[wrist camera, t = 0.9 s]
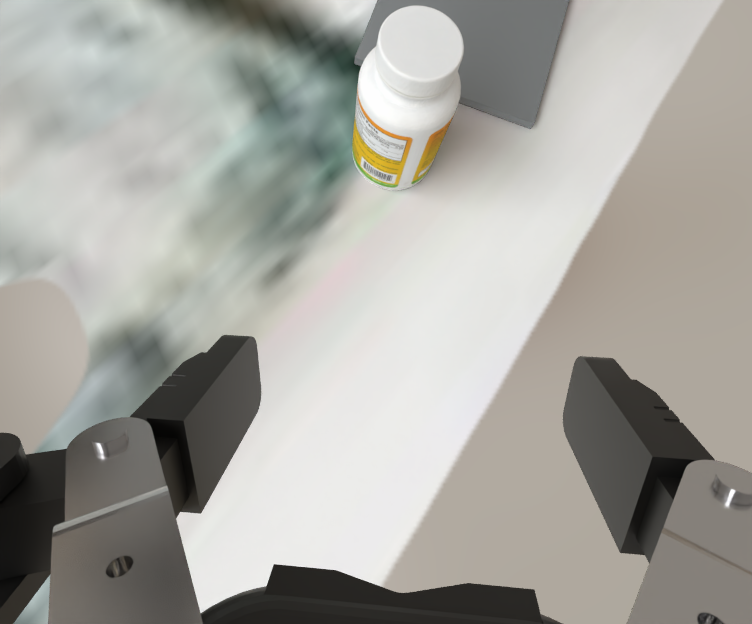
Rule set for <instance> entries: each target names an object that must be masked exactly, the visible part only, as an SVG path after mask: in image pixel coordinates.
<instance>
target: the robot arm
mask: <svg viewBox="0 0 752 624" xmlns="http://www.w3.org/2000/svg"><path fill="white" fill-rule="evenodd" d="M260 400H261V382H260V372H259V362H258V352H257V344H256V340H255V338H254V337H251V336H234V335H223V336H222V337H221V338H220V339H219V340H218V341H217V342H216V343H215V344H214V345H213V346H212V347H211V348H210V349H209V351H208V352H207V353H203V352H201V353H199V354H197V355H196V356H194V357H192V358H190V359H188V360H186V361H185V362H183V363H182V364H181V365H180V366H179V367H178V368H177V369H176V370H175V371H174V372H173V373H172V376H169V377H168V378H167V379H166V380H165V381H164V382H163V384H162V386H160V387H159V388H158V389H157V390H156V391H155V392H154V393H153V394H152V395H151V396H150V397H149V398H148V399H147V400H146V401H145V402H144V403H143V404H142V405H141V406H140V407H139V408H138V409H137V410H136V411H135V412H134V413H133V414H132V415H131V416H130V417H125V418H116V419H112V420H108V421H104V422H101V423H99V424H96V425H94V426H92V427H90V428H88V429H86V430H85V431H83V432H82V433H80V434H79V435H78V436H76V437H75V438H74V439H73V440H72V441H71V443H70V444H69V446H68V448H67V449H63V450H56V451H48V452H41V453H34V454H27V455H25V452H24V449H23V447H22V444H21V441H20V439H19V438H18V437H17V436H15V435H13V434H10V433H0V624H13V623H14V622H15V620H16V619H17V618H18V616H19V615H20V614H21V612H22V611H23V610H24V608H25V607H26V606H27V604H28V603H29V602H30V600H31V599H32V598H33V596H34V595H35V594H36V592H37V591H38V590H39V588H40V587H41V586H42V584H43V583H44V582H45V580H46V579H47V578H48V576H49V575H50V595H49V617H48V624H562V623H560V622H557V621H555V620H553V619H551V618H549V617H546V616H544V615H541V614H540V611H539V607H538V603H537V598H536V594H535V591H534V590H533V589H523V588H511V587H502V586H491V585H481V584H471V583H467V584H460V585H454V586H448V587H441V588H435V589H429V590H423V591H417V592H410V593H397V592H394V591H391V590H388V589H385V588H383V587H380V586H377V585H375V584H372V583H369V582H366V581H364V580H361V579H358V578H355V577H353V576H350V575H347V574H344V573H342V572H339V571H336V570H327V569H317V568H306V567H296V566H286V565H276V564H274V566H273V569H272V572H271V575H270V578H269V581H268V584H267V586H266V587H261V588H256V589H252V590H249V591H245V592H242V593H239V594H237V595H234V596H232V597H229V598H227V599H225V600H223V601H221V602H219V603H217V604H215V605H214V606H212V607H210V608H208V609H207V610H205V611H204V612H202V613H201V614H200V610H199V606H198V602H197V599H196V595H195V591H194V587H193V583H192V579H191V575H190V571H189V568H188V564H187V560H186V556H185V552H184V548H183V544H182V540H181V537H180V533H179V529H178V525H177V521H176V518H177V516H178V514H179V513H180V512H190V513H202V511H203V509H204V507H205V505H206V504H207V502H208V500H209V498H210V496H211V495H212V493H213V491H214V489H215V487H216V486H217V484H218V482H219V480H220V479H221V477H222V475H223V473H224V471H225V470H226V468H227V466H228V464H229V462H230V461H231V459H232V457H233V455H234V453H235V452H236V450H237V448H238V446H239V444H240V443H241V441H242V439H243V437H244V435H245V434H246V432H247V430H248V428H249V426H250V425H251V423H252V421H253V419H254V417H255V416H256V414H257V412H258V409H259V406H260ZM563 426H564V432H565V435H566V437H567V439H568V442H569V444H570V446H571V448H572V450H573V453H574V455H575V457H576V459H577V461H578V463H579V465H580V468H581V470H582V472H583V474H584V476H585V478H586V480H587V483H588V485H589V487H590V489H591V491H592V493H593V495H594V498H595V500H596V502H597V504H598V506H599V508H600V510H601V513H602V515H603V517H604V519H605V521H606V523H607V526H608V528H609V530H610V532H611V534H612V536H613V538H614V541H615V543H616V545H617V547H618V549H619V551H620V553H629V554H640V555H645V556H646V558H647V560H648V562H649V566H648V569H647V571H646V574H645V577H644V579H643V582H642V584H641V587H640V590H639V592H638V595H637V598H636V600H635V603H634V606H633V608H632V611H631V614H630V616H629V619H628V622H627V624H752V473H750V472H748V471H746V470H744V469H742V468H739V467H737V466H734V465H731V464H728V463H724V462H719V461H715V460H714V458H713V457H712V456H711V455H710V454H709V453H708V452H707V450H706V449H705V448H704V447H703V446H702V445H701V443H700V442H699V441H698V440H697V439H696V438H695V437H694V435H693V434H692V433H691V432H690V431H689V430H688V429H687V428H686V426H685V425H684V424H683V423H680V421H679V418H678V417H677V416H676V415H675V414H674V413H673V411H672V410H669V407H668V406H667V405H666V403H665V402H664V401H663V400H662V399H661V398H660V397H659V396H658V394H657V393H656V392H654V391H653V390H651V389H650V388H648V387H646V386H645V385H643V384H642V383H640V382H639V381H637V380H631V379H630V378H629V377H628V375H627V374H626V373H625V372H624V371H623V369H622V368H621V367H620V366H619V364H618V363H617V362H616V361H615V360H614V359H613V358H599V357H582V356H580V357H578V358H577V359H576V361H575V363H574V367H573V371H572V375H571V380H570V384H569V389H568V393H567V398H566V402H565V407H564V412H563Z"/></svg>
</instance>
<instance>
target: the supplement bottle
mask: <svg viewBox="0 0 752 624" xmlns="http://www.w3.org/2000/svg"><path fill="white" fill-rule="evenodd" d="M463 53H464V44H463V38H462V35H461V33H460V31H459V29H458V27H457V26H456V24H455V23H454V22H453V21H452V20H451V19H450V18H449V17H448V16H447V15H445V14H444V13H442V12H440V11H438V10H436V9H433V8H430V7H426V6H419V5H416V6H408V7H403V8H400V9H398V10H396V11H395V12H393V13H392V14H390V15H389V16H388V17H387V18H386V19H385V21H384V22H383V24H382V26H381V28H380V31H379V34H378V40H377V45H376V47H375V48H373V49H372V50H371V51H370V53H369V54H368V55H367V56H366V58H365V60H364V61H363V64H362V66H361V69H360V73H359V79H358V88H357V101H356V111H355V122H354V133H353V143H352V154H353V159H354V163H355V165H356V167H357V169H358V171H359V172H360V174H361V175H362V176H363V177H364V178H365V179H366V180H367V181H369V182H370V183H371V184H373V185H375V186H377V187H379V188H382V189H386V190H402V189H406V188H409V187H412V186H414V185H415V184H417V183H418V182H419V181H421V180H422V179H423V178H424V177H425V175H426V174H427V173H428V171H429V169H430V167H431V165H432V163H433V160H434V158H435V156H436V154H437V151H438V149H439V147H440V144H441V142H442V140H443V138H444V136H445V134H446V131H447V129H448V127H449V125H450V122H451V120H452V118H453V116H454V114H455V111H456V109H457V106H458V103H459V100H460V94H461V82H460V77H459V74H458V69H459V66H460V63H461V61H462V57H463Z"/></svg>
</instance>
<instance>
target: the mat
mask: <svg viewBox="0 0 752 624" xmlns="http://www.w3.org/2000/svg"><path fill="white" fill-rule="evenodd" d="M568 3H569V0H377V3H376V6H375V8H374V11H373V13H372V16H371V18H370V21H369V23H368V26H367V28H366V31H365V33H364V36H363V38H362V41H361V43H360V46H359V48H358V51H357V53H356V56H355V62H354V64H356V65H359V66H362V64H363V61H364V60H365V58H366V56H367V55H368V54H369V53H370V51H371V50H372V49H373V48H375V47H376V45H377V40H378V34H379V31H380V28H381V26H382V24H383V22H384V21H385V19H386V18H387V17H388V16H389V15H390V14H392V13H393V12H395V11H396V10H398V9H400V8H403V7H408V6H416V5H419V6H426V7H430V8H433V9H436V10H438V11H440V12H442V13H444V14H445V15H447V16H448V17H449V18H450V19H451V20H452V21H453V22H454V23H455V24H456V26H457V27H458V29H459V31H460V33H461V35H462V38H463V44H464V53H463V57H462V61H461V63H460V66H459V69H458V74H459V77H460V82H461V94H460V100H459V103H462V104H464V105H467V106H470V107H472V108H475V109H478V110H481V111H483V112H486V113H489V114H491V115H494V116H497V117H500V118H502V119H505V120H508V121H510V122H513V123H516V124H518V125H521V126H524V127H527V128H529V129H531V127H532V126H533V125H534V123H535V119H536V116H537V112H538V109H539V105H540V102H541V98H542V95H543V91H544V88H545V84H546V81H547V77H548V73H549V70H550V66H551V63H552V59H553V56H554V52H555V49H556V45H557V42H558V38H559V34H560V31H561V27H562V24H563V20H564V17H565V13H566V10H567V6H568Z"/></svg>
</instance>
